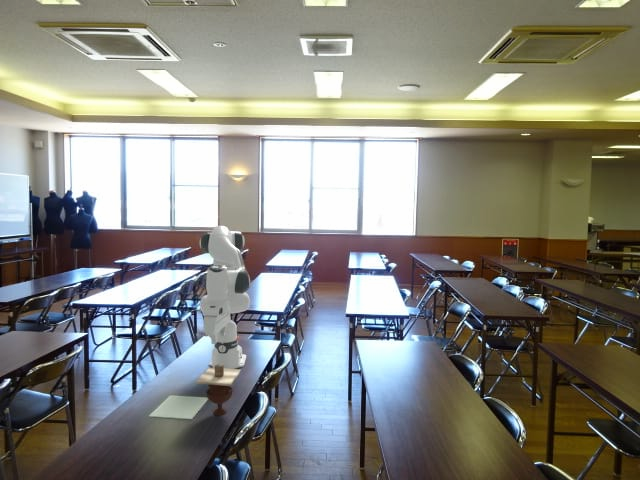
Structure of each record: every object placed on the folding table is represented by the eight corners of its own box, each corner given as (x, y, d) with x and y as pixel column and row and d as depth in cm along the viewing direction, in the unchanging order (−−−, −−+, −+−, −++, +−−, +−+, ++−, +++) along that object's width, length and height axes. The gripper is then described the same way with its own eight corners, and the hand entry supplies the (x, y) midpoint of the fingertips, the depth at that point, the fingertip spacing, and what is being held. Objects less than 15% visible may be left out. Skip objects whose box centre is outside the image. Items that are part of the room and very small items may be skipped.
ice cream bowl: (227, 420, 165) (226, 383, 164) (201, 417, 167) (200, 381, 166) (237, 407, 175) (237, 373, 174) (213, 404, 178) (212, 370, 176)
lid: (209, 369, 178) (209, 358, 177) (241, 371, 176) (241, 360, 176) (195, 383, 164) (195, 371, 163) (230, 385, 162) (230, 373, 162)
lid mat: (170, 396, 185) (170, 395, 185) (209, 398, 183) (209, 397, 183) (149, 416, 168) (148, 415, 168) (191, 419, 165) (191, 418, 165)
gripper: (219, 299, 178) (220, 331, 179) (200, 312, 158) (201, 347, 159) (233, 300, 177) (234, 331, 179) (216, 312, 157) (217, 348, 158)
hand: (218, 339), depth 169 cm, fingers open, 8 cm apart
